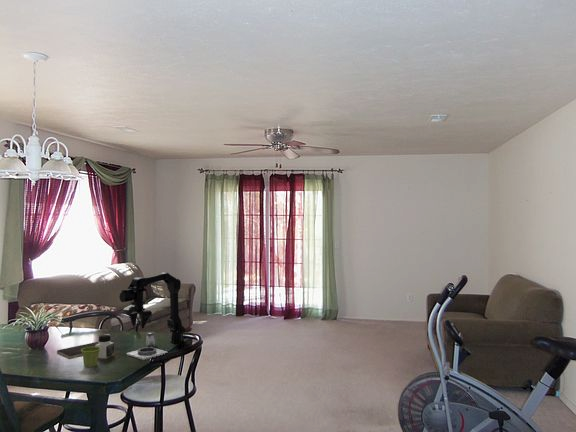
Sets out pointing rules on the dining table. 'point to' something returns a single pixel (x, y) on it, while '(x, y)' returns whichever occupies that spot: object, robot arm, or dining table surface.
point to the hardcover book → (75, 350)
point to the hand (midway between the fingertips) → (138, 327)
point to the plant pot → (90, 356)
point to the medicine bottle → (105, 346)
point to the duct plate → (143, 357)
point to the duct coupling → (150, 339)
